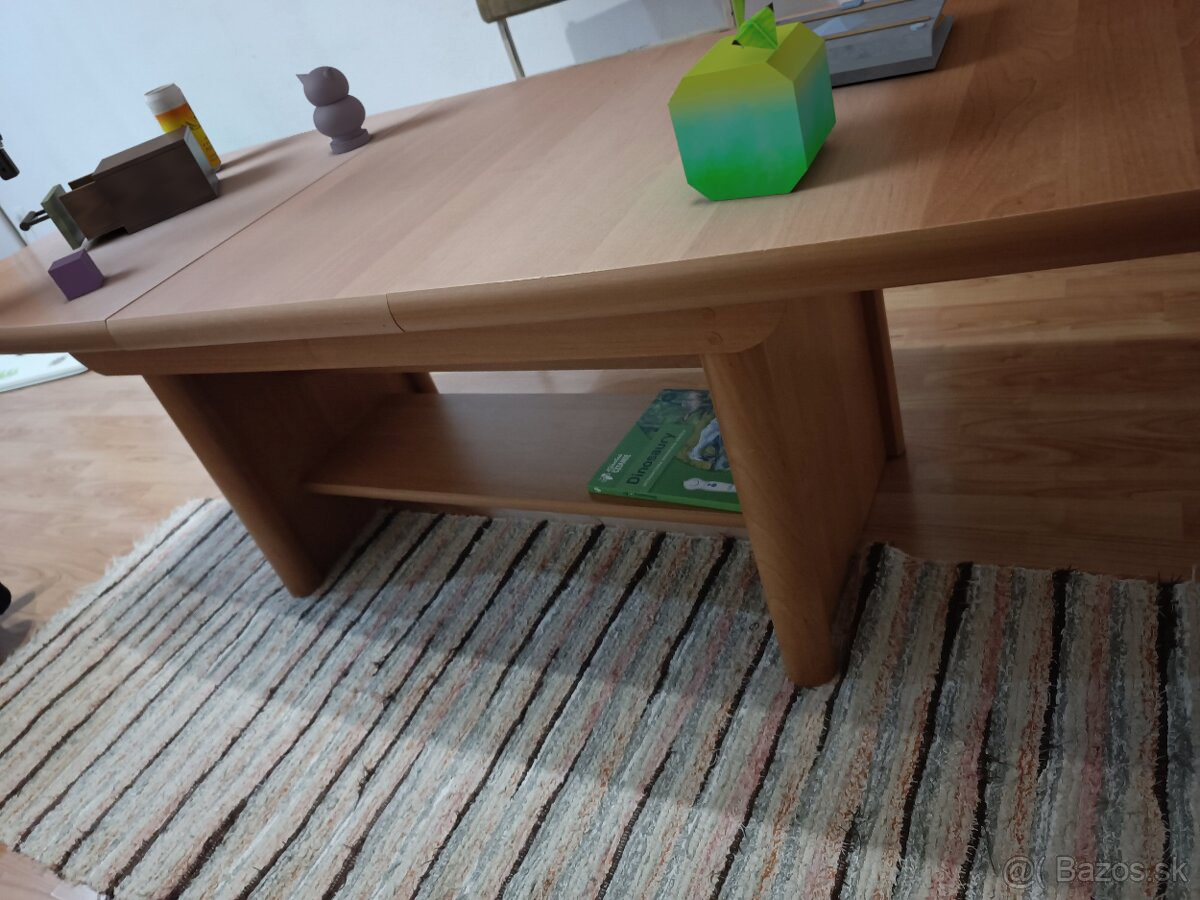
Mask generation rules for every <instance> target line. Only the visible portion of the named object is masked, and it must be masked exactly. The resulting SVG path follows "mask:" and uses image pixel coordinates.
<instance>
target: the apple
mask: <svg viewBox="0 0 1200 900" xmlns="http://www.w3.org/2000/svg"><path fill="white" fill-rule="evenodd" d="M731 5H732V10H733V15H734V19H735V20H734V21H735V25H736V29H737V33H736V34H734V35H727V36H724V37H721V38H720V39H719V40H718V41H717V42H716V43H715V44H714V45H712V47H711V48H710V49H709V50H708V51H707V52H706V53H705V54H704V55H703V56H702V57H701V58H700V59H699V60H698V61H697V63H695V64H694V65H693V66H692V67H691V68H690V69H689V70H688V71H687V72H686V73H685V74H684V76H682V78H681V79H680V81H679V83H678V85H677V86H676V88H675V90H674V91H673V94H672V95H671V97H670V99H669V101H668V102H667V107H668V111H669V116H670V119H671V122H672V127H673V132H674V135H675V139H676V144H677V147H678V151H679V155H680V159H681V164H682V167H683V171H684V175H685V179H686V183H687V185H689V186H690V187H691V188H693V189H694V190H695V191H697V192H698V193H700V194H701V195H702V196H704V197H705V198H707V199H708V200H709V201H711V202H716V201H727V200H736V199H746V198H755V197H763V196H773V195H783V194H790V193H791V192H792V190H793V189H794V188H795V186H796V185H797V184H798V182H799V181H800V180H801V178H803V176H804V175H805V174H806V172H807V171H808V170H809V168H810V167H811V164H813V161H814V160H815V158H816V156H817V155H818V153H819V152H820V150H821V148H822V147H823V145H824V143H825V142H826V140H827V138H828V137H829V135H830V133H831V132H832V131H833V129H834V128H835V125H836V124H837V116H836V110H835V103H834V102H835V101H834V96H833V89H832V86H831V81H830V73H829V66H828V59H827V52H826V45H825V40H824V39H823V38H821V37H820V36H819V35H817V34H816V33H815V32H813V31H812V30H811V29H809V28H808V27H807V26H805V25H804V24H803V23H801V22H795V23H791V24H786V25H781V26H776V24H775V21H776V17H775V9H774V2H773V1H772V2H770V3H769V4H767V5H766V6H765V7H763V8H762V9H760V10H759V11H758V12H756V13H755V14H753V15H752V16H751V17H749V18H748V19H747V20H745V18H746V15H745V14H746V0H731Z"/></svg>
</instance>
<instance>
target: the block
mask: <svg viewBox="0 0 1200 900" xmlns="http://www.w3.org/2000/svg"><path fill="white" fill-rule="evenodd" d="M47 274H48V275H49V276H50V277H51V279H52V280H53V282H54V283H55V284H56V286H57V288H59V290H60V291H61V292H62V294H63V295H64V297H65V298H66V299H67V300H68V301H69V302H70V301H72V300H75V299H77V298H80V297H81V296H84V295H86V294H89V293H91V292H94V291H96V290H98V289H100V288H101V287H102V285H103V282H104V280H105V276H104V274H103V273H102V271H101V270H100V269H99V267H98V265H97V264H96V263H95V261H94V260H93V258H92V257H91V256H90V254H89V253H88V252H87V250H86V248H83V249H80V250H77V251H76V252H73V253H71V254H68V255H66V256H64V257H61V258H58V259H57V260H54V261H52V263H51V264H50V267H49V268H48V270H47Z"/></svg>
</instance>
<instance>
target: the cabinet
mask: <svg viewBox="0 0 1200 900" xmlns="http://www.w3.org/2000/svg"><path fill="white" fill-rule="evenodd" d="M93 172H94V173H93ZM93 172H92V173H93V174H92V176H91V177H92V179H93V180H94V182H95V183H96V185H97V186H98V188H99V189H100V191H101V192H102V194H103V195H104V197H105V198H106V200H107V201H108V203H109V204H110V206H111V207H112V209H113V210H114V212H115V213H116V215H117V216H118V218H119V219H120V221H121V222H122V224H123V225H124V226H123V227H124V229H125V230H126V232H127V233H128V234H129V235H131V234H134V233H136V232H138V231H141V230H143V229H146V228H148V227H151V226H152V225H155V224H158V223H160V222H162V221H165V220H167V219H170V218H172V217H175V216H177V215H179V214H182V213H184V212H186V211H189V210H192V209H193V208H196V207H199V206H200V205H201V206H202V205H203V204H206V203H208V202H211V201H212V200H214V199H217V198H218V197H219V196H218V195H219V184H220V179H219V177H218V176H217V174H216V172H214V170H213V168H212V167H211V165H210V163H209V161H208V160H207V158H206V156H205V155H204V153H203V151H202V149H201V148H200V146H199V144H198V142H197V141H196V139H195V137H194V135H193V134H192V132H191V130H190V128H189V127H188V125H185V126H183V127H180V128H178V129H175V130H173V131H171V132H168V133H166V134H164V133H163V134H160V135H159V136H156V137H153V138H151V139H148V140H146V141H144V142H141V143H139V144H136V145H133V146H132V147H129V148H126V149H124V150H121V151H119V152H117V153H114V154H112V155H108V156H106V157H103V158H101V160H100V162H99V163H98V164H97V166H96V167H95V170H94V171H93Z"/></svg>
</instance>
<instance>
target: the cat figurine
mask: <svg viewBox="0 0 1200 900" xmlns="http://www.w3.org/2000/svg"><path fill="white" fill-rule="evenodd" d="M295 76H296V78H297V79H298V80H299V82H300V83H301V84H302V87H303V93H304V96H305V98H306V100H307V101H308V102H309V103H310V104H311V105H312V106H314V107H315V108H314V111H313V113H312V121H313V124H314V127H315V128H316V130H317V131H318V132H319V133H320V134H321V135H323V136H325V137H328V138H330V139H331V141H330V143H329V147H331V150H332V152H333V154H335V155H339V154H343V153H347V152H350V151H353V150H355V149H358V148H360V147H362V146H364V145H365V144H367V143H368V142H369V141H370V140H371V139H372V137H371V136H370V133H369V131H368V129H367V128H365V127H364V128H362V126H363V124H364V123H365V120H366V115H367V114H366V108H365V106H364V104H363V103H362V101H361V100H360V99H359V98H358V97H355V96H354V95H352V94H349V93H350V84H349V80H348V79H347V76H345V74H344V73H343V72H342V71H341V70H340V69H338V68H336V67H333V66H328V65H321V66H318V67H315V68H314V69H312V70H310V71H309V73H300V74H299V73H296V74H295Z"/></svg>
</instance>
